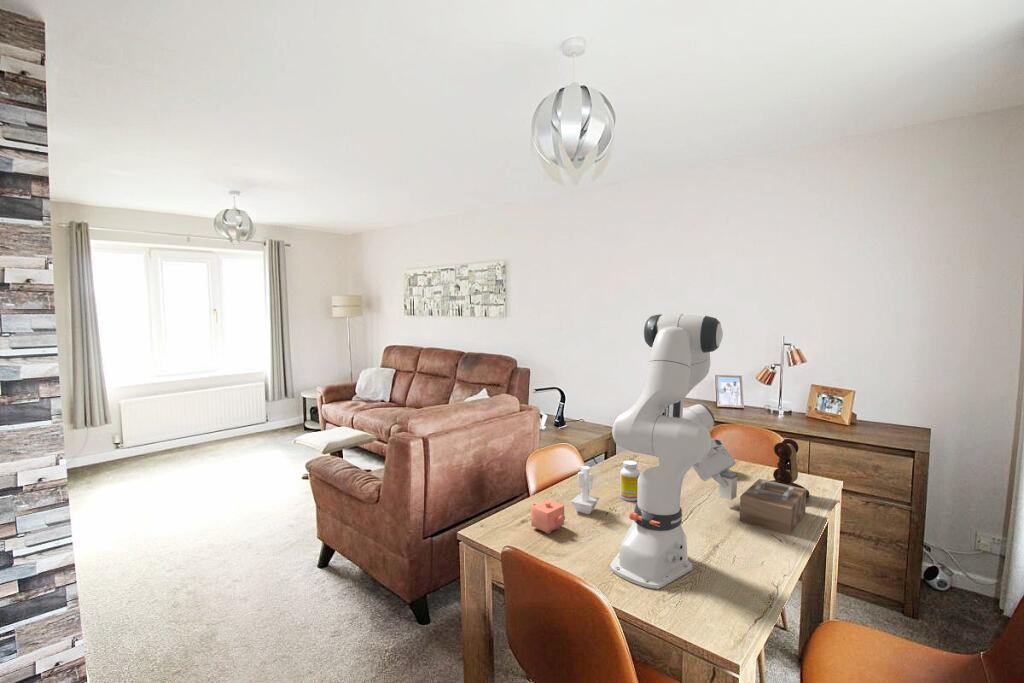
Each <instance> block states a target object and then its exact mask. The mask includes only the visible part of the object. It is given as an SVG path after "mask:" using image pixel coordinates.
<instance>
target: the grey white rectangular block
mask: <svg viewBox="0 0 1024 683" xmlns="http://www.w3.org/2000/svg"><path fill="white" fill-rule="evenodd" d="M720 475H721V476H720V477H721V478H722V479H724V480H726V481H727V483H728V484H729V485H728V486H727V487H725V488H723V487H722V486H721V484H719V493H718V494H719V497H720V498H723V499H726V500H729V501H732V500H734V499H736V498H737V496H738V495H737V494H738V492H737V491H738V490H737V488H738V473H736V472H733V471H732V472H728V471H724V472H722V473H720Z"/></svg>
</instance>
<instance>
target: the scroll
mask: <svg viewBox="0 0 1024 683" xmlns="http://www.w3.org/2000/svg"><path fill="white" fill-rule="evenodd" d="M773 447H774V448H773V452H774V454H775V455H776V456H777V457H778V462H777V464H776V465H777V467H778V468H776V469H774V471H773V478H774V479H773V480H770V481H772V482H776V483H781V484H785V485H790V486H794V487H799V488H803V489H806V500H808V499H809V498H810V491H809V490H808V489H807V488H805V487H804V486H802V485H800V484H797V483H794V482H795V481H797V480H798V476H799V471H798V470H799V469H798V463H797V462H798V461H797V453H798V452H799V448H800V447H799V445H798V443H797V442H796V440H793V439H792V438H786V439H783V440H782V441H781V442H777V443H776V444H775V445H774V446H773Z"/></svg>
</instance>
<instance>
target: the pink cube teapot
mask: <svg viewBox="0 0 1024 683" xmlns="http://www.w3.org/2000/svg"><path fill="white" fill-rule="evenodd" d="M530 511H531V512H530V514H531V515H530V519H531V521H530V522H531V527H534V528H535V529H536V530H540V531H542V532H544V533H546V535H547V534H548V535H550V534H552V532H553V531H554V530H560V527H562V526H564V525H565V520H566V516H565V505H564V504H561V503H558V502H556V501H553V500H551V499H546V500H543V501H541V502H534V503H533V505H531V507H530Z"/></svg>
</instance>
